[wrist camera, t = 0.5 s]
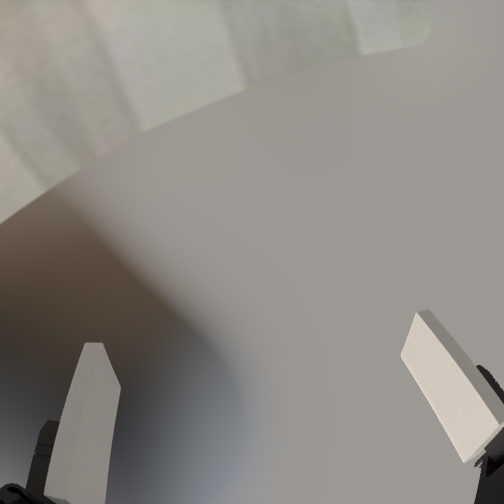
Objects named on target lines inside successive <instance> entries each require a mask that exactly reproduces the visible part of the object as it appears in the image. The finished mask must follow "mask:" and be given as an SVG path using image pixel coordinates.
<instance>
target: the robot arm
mask: <svg viewBox="0 0 504 504" xmlns="http://www.w3.org/2000/svg"><path fill="white" fill-rule="evenodd" d="M401 358H402V360H403V361H404V363H405V364H406V366H407V367H408V369H409V371H410V372H411V374H412V376H413V377H414V379H415V380H416V382H417V383H418V385H419V387H420V388H421V390H422V392H423V393H424V395H425V397H426V398H427V400H428V402H429V403H430V405H431V407H432V408H433V410H434V412H435V413H436V415H437V417H438V418H439V420H440V422H441V424H442V425H443V427H444V429H445V431H446V432H447V434H448V436H449V438H450V440H451V441H452V443H453V445H454V446H455V449H456V450H457V452H458V454H459V456H460V458H461V459H462V461H463V463H465V462H467V461H469V460H470V459H472V458H474V457H475V456H477V455H478V454H479V453H480V452H481V451H482V450H483V449H485V450H486V453H485V454H484V455H483V456H482V457H481V458H480V459H479V460H478V461H477V462H476V463H475V466H474V467H477V466H478V465H479V464H480V463H481V462H482V461H483V462H482V464H481V465H480V467H479V468H481V474H480V479H479V484H478V489H477V494H476V498H475V502H474V504H504V391H503V390H502V389H501V388H500V386H499V384H498V383H497V382H495V379H494V378H493V376H492V375H491V374H490V372H489V371H488V370H486V369H485V368H483V367H482V366H481V365H478V366H475V365H474V364H473V362H472V361H471V360H470V358H469V357H468V356H467V355H466V353H465V352H464V351H463V350H462V348H461V347H460V346H459V345H458V343H457V342H456V341H455V340H454V338H453V337H452V336H451V335H450V333H449V332H448V331H447V330H446V329H445V327H444V326H443V325H442V324H441V323H440V321H439V320H438V319H437V318H436V317H435V316H434V314H433V313H432V312H431V311H430V310H424V311H419V312H416V314H415V317H414V320H413V323H412V326H411V329H410V332H409V334H408V337H407V340H406V343H405V346H404V348H403V350H402V353H401ZM120 389H121V387H120V385H119V383H118V380H117V378H116V375H115V373H114V371H113V369H112V366H111V364H110V361H109V359H108V356H107V354H106V351H105V349H104V346H103V344H102V343H85V345H84V348H83V351H82V354H81V356H80V359H79V362H78V365H77V368H76V371H75V374H74V377H73V380H72V383H71V387H70V390H69V393H68V396H67V400H66V403H65V406H64V410H63V413H62V417H61V420H60V422H59V421H51V420H48V421H47V422H46V424H45V425H44V426H43V428H42V429H41V430H40V434H39V437H38V441H37V445H36V448H35V451H34V452H35V455H33V459H32V463H31V467H30V472H29V476H28V480H27V485H26V489H24V488H23V487H21V486H20V485H18V484H13V483H10V484H6V485H4V486H3V487H2V488H1V489H0V504H105V496H106V486H107V476H108V468H109V459H110V452H111V444H112V437H113V431H114V424H115V418H116V412H117V406H118V400H119V395H120Z"/></svg>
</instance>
